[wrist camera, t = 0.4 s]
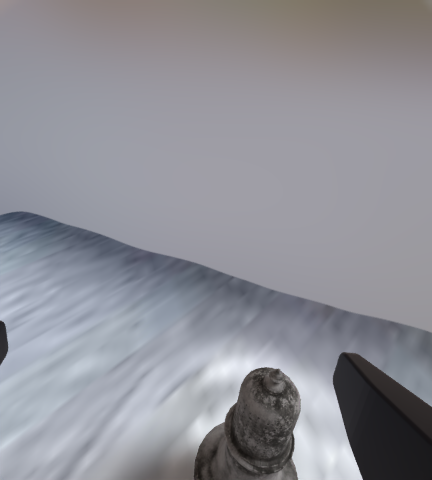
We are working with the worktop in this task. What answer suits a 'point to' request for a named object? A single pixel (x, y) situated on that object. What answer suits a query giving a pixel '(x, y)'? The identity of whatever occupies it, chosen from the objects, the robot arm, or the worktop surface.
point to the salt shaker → (254, 432)
